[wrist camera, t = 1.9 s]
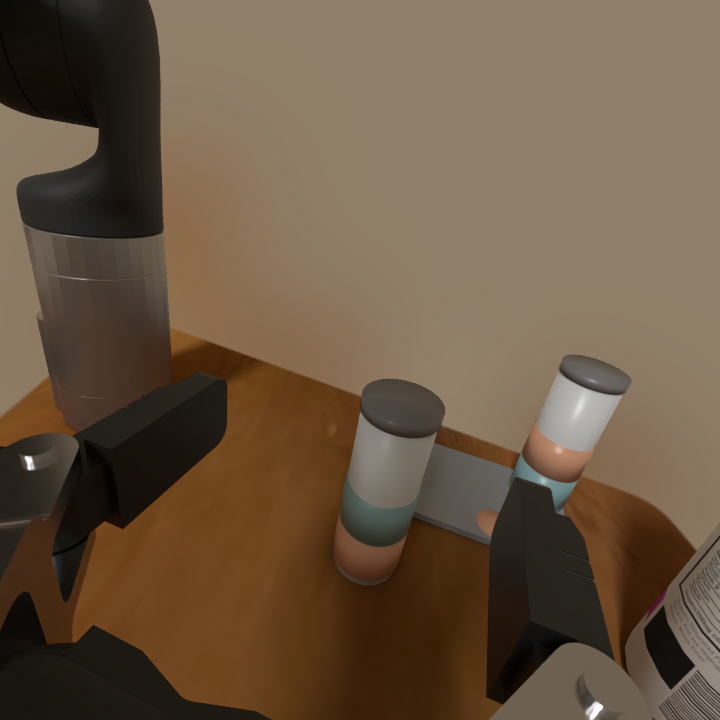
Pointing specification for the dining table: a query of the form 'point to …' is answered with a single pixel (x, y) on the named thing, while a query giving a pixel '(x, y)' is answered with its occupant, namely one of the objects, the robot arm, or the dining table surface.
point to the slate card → (462, 493)
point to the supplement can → (682, 642)
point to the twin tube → (570, 424)
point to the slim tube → (384, 477)
